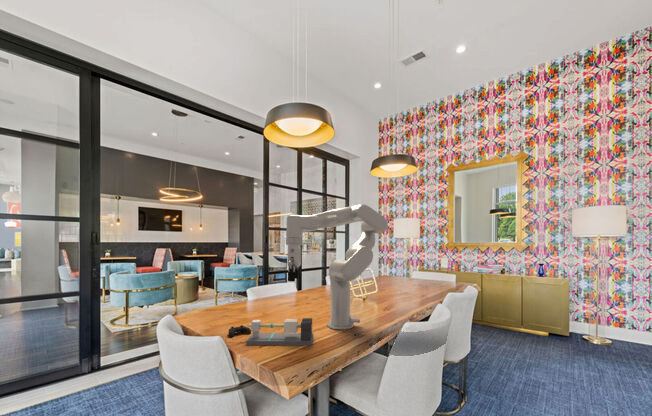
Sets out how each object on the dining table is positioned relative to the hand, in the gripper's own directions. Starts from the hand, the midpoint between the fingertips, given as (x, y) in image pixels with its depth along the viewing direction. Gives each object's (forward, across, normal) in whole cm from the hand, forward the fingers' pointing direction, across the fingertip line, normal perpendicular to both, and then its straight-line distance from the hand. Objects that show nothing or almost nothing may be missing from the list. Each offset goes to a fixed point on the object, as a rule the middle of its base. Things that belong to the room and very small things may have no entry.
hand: (293, 279), depth 131 cm
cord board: (+23, -10, +3) cm, 25 cm away
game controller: (+24, -2, +23) cm, 34 cm away
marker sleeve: (+20, -10, -1) cm, 22 cm away
